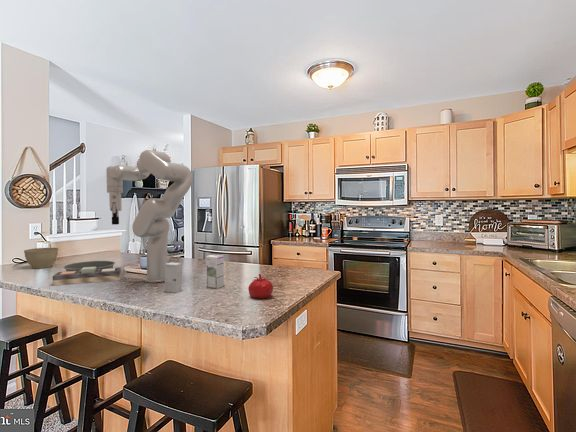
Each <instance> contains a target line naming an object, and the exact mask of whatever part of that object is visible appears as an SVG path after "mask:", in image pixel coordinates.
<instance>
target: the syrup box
mask: <svg viewBox="0 0 576 432" xmlns="http://www.w3.org/2000/svg"><path fill="white" fill-rule="evenodd" d="M224 257H225V256H224V254H215V253H214V254H209V255H207V256H206V288H210V289H217V290H218V289H220V288H222V287H224V286H225V268H224V267H225V260H224V259H225V258H224Z"/></svg>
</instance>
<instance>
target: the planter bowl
mask: <svg viewBox="0 0 576 432" xmlns="http://www.w3.org/2000/svg"><path fill="white" fill-rule="evenodd" d="M23 252H24V257H25V260H26V262H27V263H28V265H30V266H31V268H32V269H46V268H50V267H52V266H53V264H54V263H55V261H56V260H57V258H58V252H59V247H38V248H36V247H35V248H30V249H24V251H23Z"/></svg>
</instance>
